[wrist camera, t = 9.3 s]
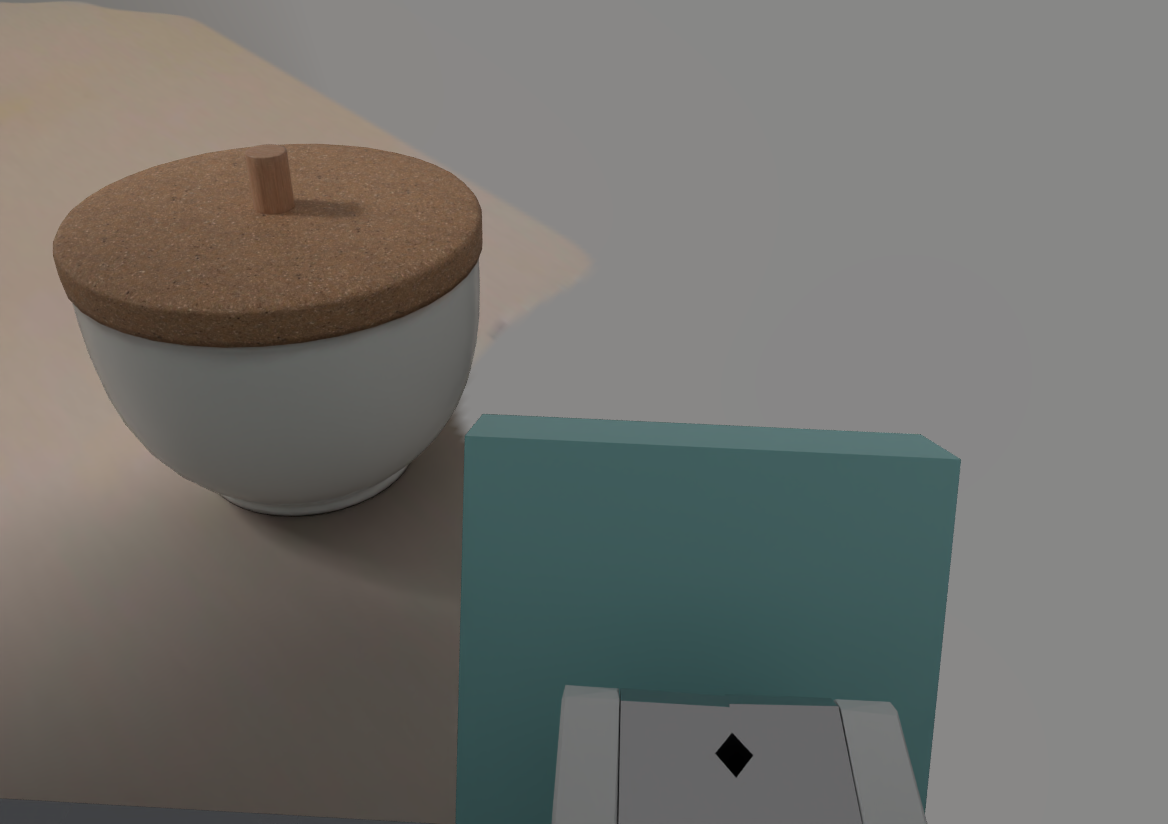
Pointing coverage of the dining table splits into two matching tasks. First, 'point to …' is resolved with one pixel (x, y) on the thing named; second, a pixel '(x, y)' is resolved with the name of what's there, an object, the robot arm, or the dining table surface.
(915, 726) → the teal flat block
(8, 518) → the dining table surface
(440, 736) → the dining table surface
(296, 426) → the lidded jar
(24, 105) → the dining table surface
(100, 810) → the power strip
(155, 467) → the dining table surface
